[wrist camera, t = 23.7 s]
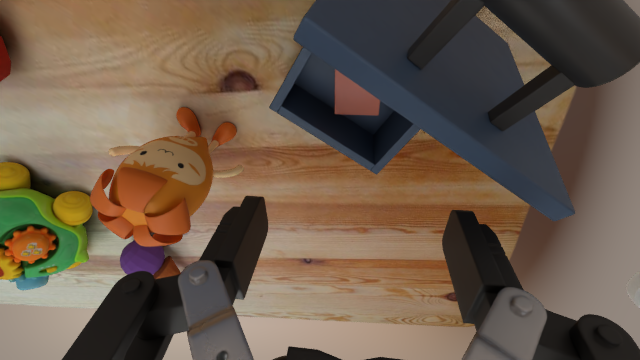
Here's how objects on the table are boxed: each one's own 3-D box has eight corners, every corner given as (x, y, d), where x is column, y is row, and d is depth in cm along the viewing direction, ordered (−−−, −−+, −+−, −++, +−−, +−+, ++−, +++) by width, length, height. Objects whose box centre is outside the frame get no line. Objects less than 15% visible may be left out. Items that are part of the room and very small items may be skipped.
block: (380, 57, 28) (383, 70, 25) (376, 99, 30) (378, 115, 27) (337, 57, 28) (334, 69, 25) (337, 98, 31) (334, 114, 27)
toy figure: (261, 125, 34) (206, 213, 22) (248, 177, 39) (197, 273, 27) (157, 87, 33) (40, 160, 21) (157, 146, 38) (60, 232, 25)
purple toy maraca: (211, 322, 54) (105, 268, 45) (225, 290, 58) (130, 235, 49) (230, 319, 51) (119, 261, 42) (243, 286, 55) (144, 227, 46)
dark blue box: (374, 140, 34) (376, 174, 28) (285, 82, 31) (268, 108, 26) (471, 29, 26) (500, 46, 21) (365, -60, 24) (367, -68, 18)
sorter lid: (553, 222, 11) (769, 144, 8) (291, 40, 9) (425, -224, 5) (497, 52, 21) (581, -20, 17) (363, -61, 18) (427, -177, 14)
